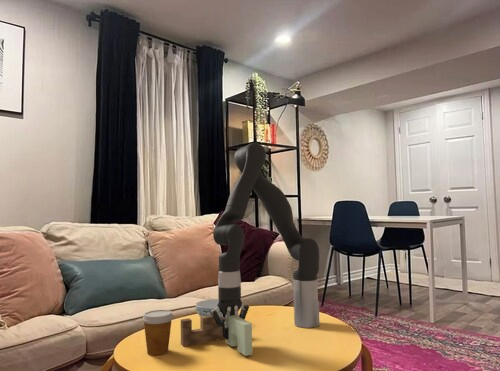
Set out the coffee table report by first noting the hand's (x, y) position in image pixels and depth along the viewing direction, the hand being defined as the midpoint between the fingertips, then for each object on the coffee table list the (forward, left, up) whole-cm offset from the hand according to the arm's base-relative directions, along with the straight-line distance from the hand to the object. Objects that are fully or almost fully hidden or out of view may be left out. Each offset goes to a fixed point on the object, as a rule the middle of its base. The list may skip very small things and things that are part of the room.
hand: (230, 337), depth 122 cm
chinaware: (+9, -25, -3) cm, 27 cm away
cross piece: (-3, +5, -2) cm, 6 cm away
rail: (+8, -5, -2) cm, 9 cm away
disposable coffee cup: (+23, +6, -3) cm, 23 cm away
